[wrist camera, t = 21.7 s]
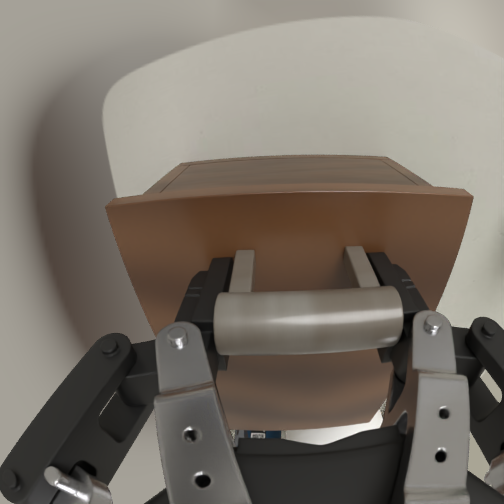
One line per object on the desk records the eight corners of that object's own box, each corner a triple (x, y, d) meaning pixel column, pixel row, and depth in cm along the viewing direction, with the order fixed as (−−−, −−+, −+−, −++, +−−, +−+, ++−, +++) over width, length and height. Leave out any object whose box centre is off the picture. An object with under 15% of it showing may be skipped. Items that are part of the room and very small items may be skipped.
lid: (113, 198, 10) (40, 273, 6) (464, 188, 9) (539, 256, 5) (207, 420, 22) (200, 468, 18) (368, 415, 20) (375, 463, 16)
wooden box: (180, 163, 18) (128, 206, 12) (387, 156, 17) (448, 196, 10) (219, 354, 29) (207, 419, 22) (354, 350, 27) (368, 414, 20)
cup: (393, 382, 31) (408, 444, 23) (333, 420, 37) (338, 474, 28) (325, 361, 28) (335, 440, 20) (267, 405, 34) (264, 468, 26)
